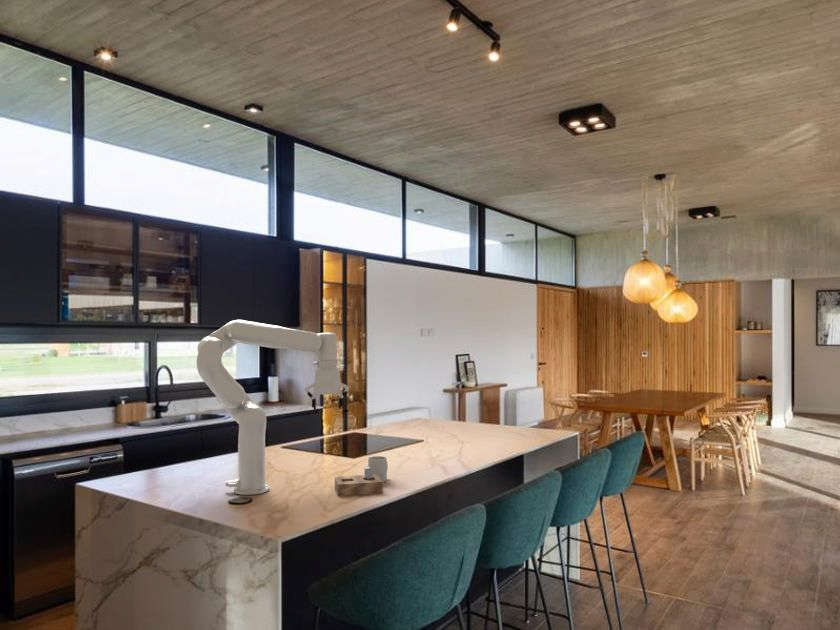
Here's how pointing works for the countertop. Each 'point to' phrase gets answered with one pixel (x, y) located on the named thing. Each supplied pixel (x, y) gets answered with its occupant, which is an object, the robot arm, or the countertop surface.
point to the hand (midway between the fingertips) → (327, 408)
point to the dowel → (368, 473)
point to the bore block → (358, 485)
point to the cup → (379, 466)
